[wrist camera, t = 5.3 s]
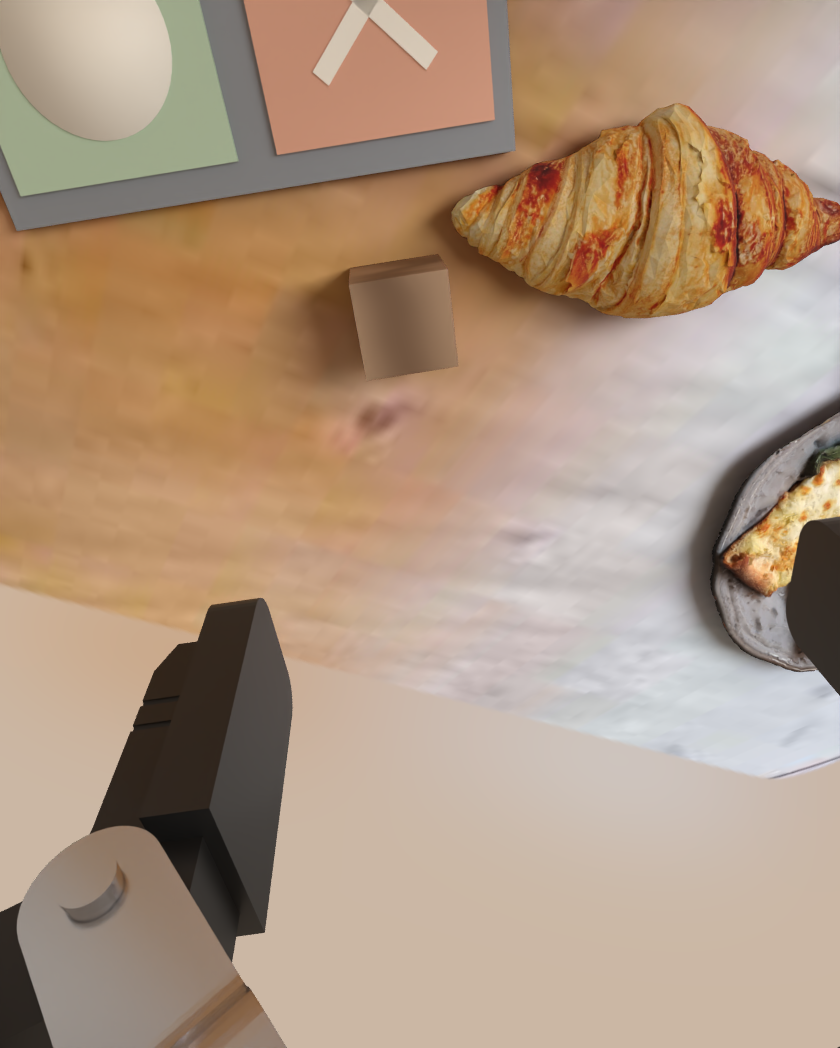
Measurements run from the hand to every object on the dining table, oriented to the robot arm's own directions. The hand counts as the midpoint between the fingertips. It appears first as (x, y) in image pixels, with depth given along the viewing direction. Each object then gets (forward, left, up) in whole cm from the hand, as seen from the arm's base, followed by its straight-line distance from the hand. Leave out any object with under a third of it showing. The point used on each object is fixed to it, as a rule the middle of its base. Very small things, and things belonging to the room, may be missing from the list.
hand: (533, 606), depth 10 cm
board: (+7, -12, -32) cm, 35 cm away
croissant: (-13, -1, -32) cm, 35 cm away
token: (+1, +2, -32) cm, 32 cm away
